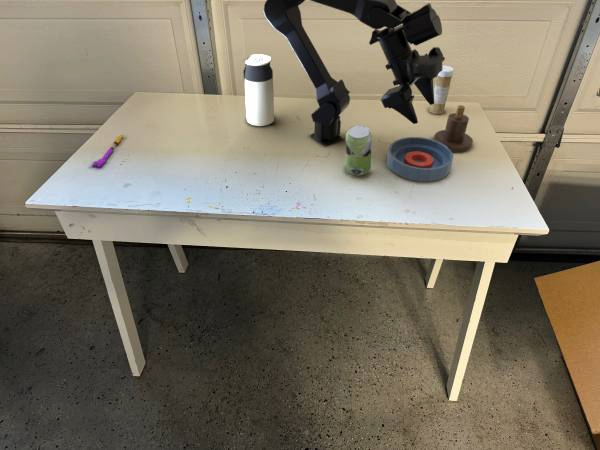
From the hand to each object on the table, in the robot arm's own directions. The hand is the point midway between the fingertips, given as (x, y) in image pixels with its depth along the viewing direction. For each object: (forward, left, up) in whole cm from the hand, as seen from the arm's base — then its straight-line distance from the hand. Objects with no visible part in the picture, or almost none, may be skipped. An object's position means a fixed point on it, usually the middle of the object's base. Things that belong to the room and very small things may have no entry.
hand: (424, 113), depth 108 cm
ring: (-2, -3, -12) cm, 12 cm away
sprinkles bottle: (+25, +16, -13) cm, 32 cm away
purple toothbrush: (-66, +46, -13) cm, 81 cm away
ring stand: (+14, 0, -12) cm, 18 cm away
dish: (-2, -3, -12) cm, 13 cm away
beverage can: (-17, +3, -13) cm, 22 cm away
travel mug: (-23, +40, -13) cm, 48 cm away
